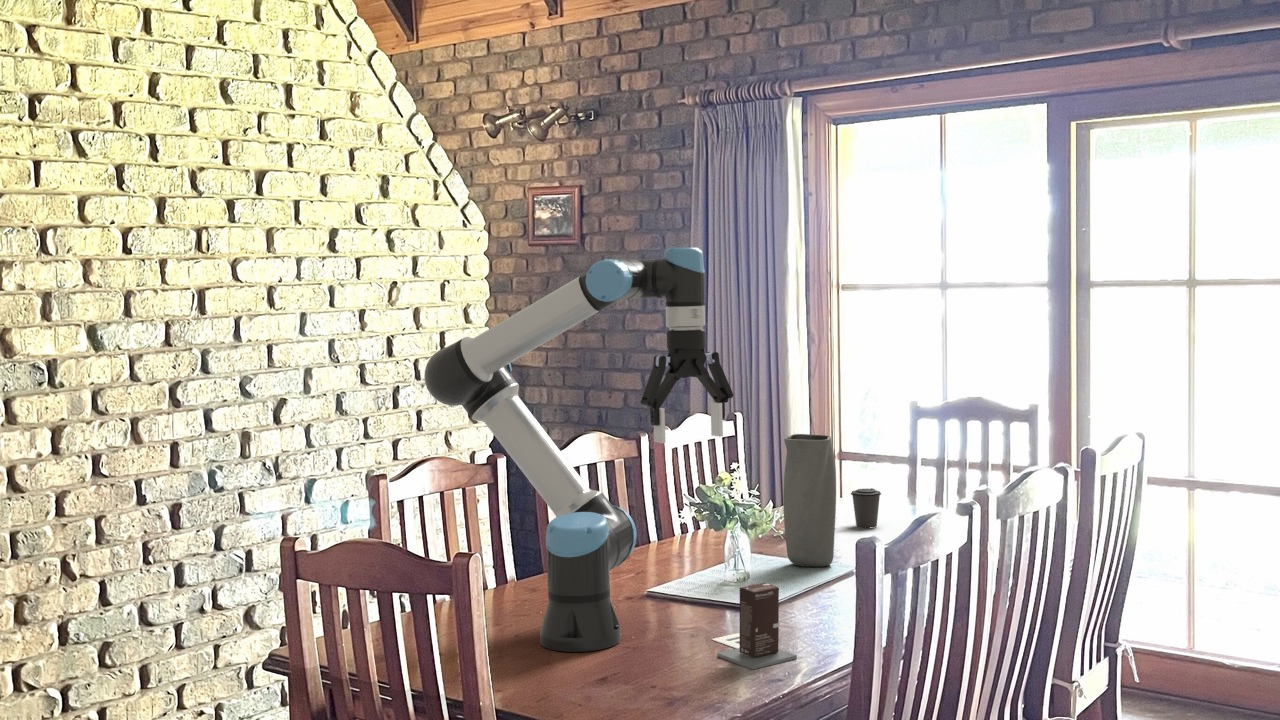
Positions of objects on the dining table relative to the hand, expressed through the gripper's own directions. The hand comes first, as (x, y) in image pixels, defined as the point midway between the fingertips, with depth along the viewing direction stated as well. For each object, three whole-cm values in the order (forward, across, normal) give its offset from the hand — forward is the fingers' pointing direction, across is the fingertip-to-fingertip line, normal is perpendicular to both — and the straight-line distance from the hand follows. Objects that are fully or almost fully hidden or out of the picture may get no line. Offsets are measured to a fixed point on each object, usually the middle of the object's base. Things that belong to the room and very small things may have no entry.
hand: (688, 439), depth 247 cm
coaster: (+37, -3, -23) cm, 43 cm away
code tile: (+37, +1, -13) cm, 39 cm away
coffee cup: (+37, +94, +50) cm, 113 cm away
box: (+36, -2, -23) cm, 43 cm away
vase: (+37, +53, +26) cm, 70 cm away
